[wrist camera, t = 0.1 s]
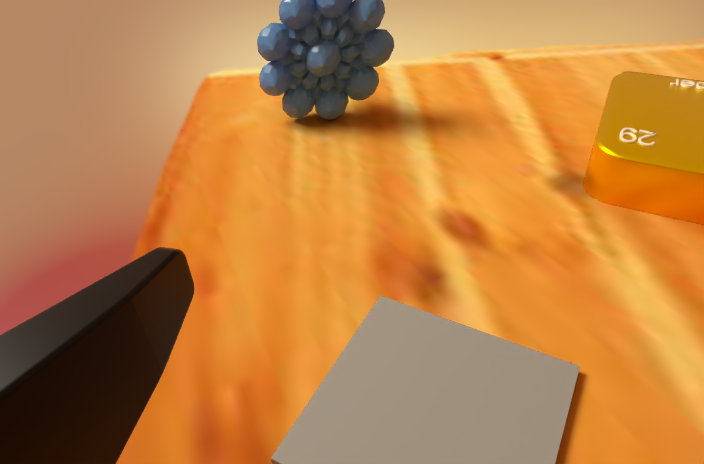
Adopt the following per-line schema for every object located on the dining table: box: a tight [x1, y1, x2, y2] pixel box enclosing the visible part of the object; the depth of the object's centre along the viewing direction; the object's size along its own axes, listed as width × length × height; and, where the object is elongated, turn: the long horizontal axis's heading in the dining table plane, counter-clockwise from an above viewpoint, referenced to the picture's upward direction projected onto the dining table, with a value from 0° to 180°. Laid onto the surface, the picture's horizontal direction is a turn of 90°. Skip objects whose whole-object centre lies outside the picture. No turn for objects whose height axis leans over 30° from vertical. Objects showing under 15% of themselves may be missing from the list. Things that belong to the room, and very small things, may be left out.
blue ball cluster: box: [257, 0, 394, 120], centre depth 46 cm, size 12×7×12 cm, turn 90°
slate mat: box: [271, 296, 580, 464], centre depth 25 cm, size 11×11×1 cm
